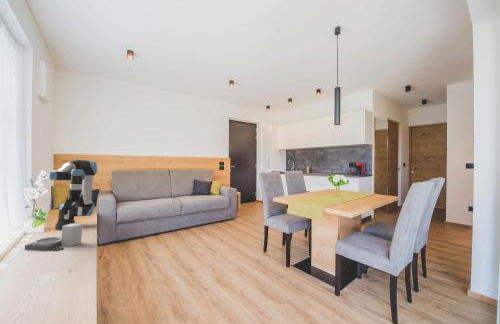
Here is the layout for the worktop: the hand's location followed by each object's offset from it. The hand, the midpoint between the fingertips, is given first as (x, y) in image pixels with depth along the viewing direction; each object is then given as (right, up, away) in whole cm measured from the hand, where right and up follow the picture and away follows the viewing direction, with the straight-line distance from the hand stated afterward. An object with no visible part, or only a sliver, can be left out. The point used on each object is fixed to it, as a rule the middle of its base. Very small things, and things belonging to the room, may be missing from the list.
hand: (73, 217), depth 170 cm
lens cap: (-1, -21, -12) cm, 24 cm away
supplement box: (-1, -21, -1) cm, 21 cm away
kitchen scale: (-14, -20, -5) cm, 25 cm away
